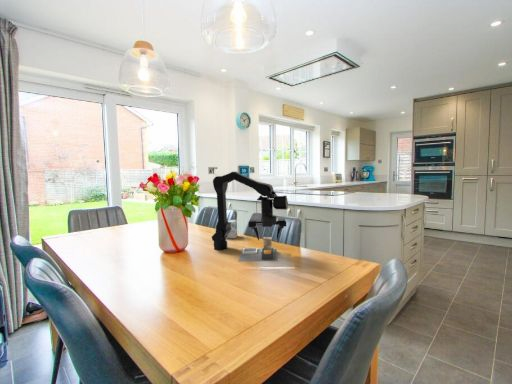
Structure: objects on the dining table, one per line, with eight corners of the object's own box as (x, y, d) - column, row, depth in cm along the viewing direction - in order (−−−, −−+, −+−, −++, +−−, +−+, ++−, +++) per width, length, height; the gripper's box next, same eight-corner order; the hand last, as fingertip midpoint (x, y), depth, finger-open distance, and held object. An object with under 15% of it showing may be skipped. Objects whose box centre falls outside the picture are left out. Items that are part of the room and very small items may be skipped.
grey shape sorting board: (238, 263, 120) (238, 255, 120) (242, 251, 138) (242, 244, 138) (277, 262, 119) (277, 255, 119) (276, 250, 137) (276, 244, 137)
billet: (263, 252, 131) (263, 239, 130) (263, 250, 135) (263, 237, 134) (271, 252, 130) (271, 239, 130) (271, 250, 134) (271, 237, 134)
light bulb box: (237, 235, 171) (237, 219, 170) (235, 238, 164) (235, 221, 164) (221, 235, 172) (220, 219, 171) (219, 238, 166) (218, 221, 165)
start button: (263, 258, 122) (263, 251, 122) (264, 255, 125) (263, 249, 125) (271, 258, 122) (271, 251, 121) (271, 255, 125) (271, 249, 125)
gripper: (247, 212, 123) (248, 244, 124) (286, 211, 122) (287, 244, 124) (248, 208, 134) (249, 238, 136) (285, 207, 133) (285, 238, 135)
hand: (267, 239), depth 132 cm, fingers open, 9 cm apart
